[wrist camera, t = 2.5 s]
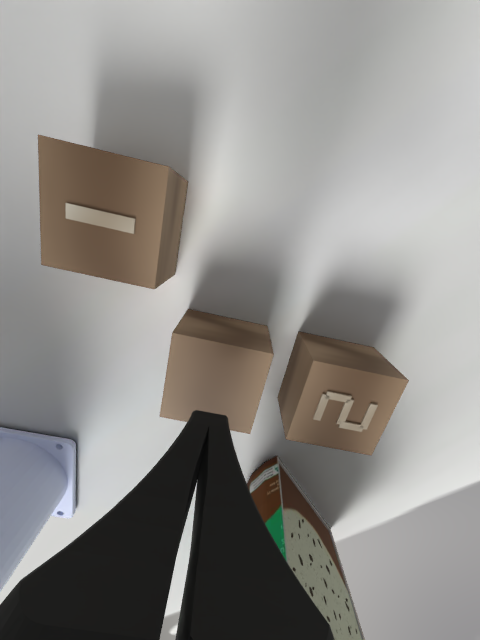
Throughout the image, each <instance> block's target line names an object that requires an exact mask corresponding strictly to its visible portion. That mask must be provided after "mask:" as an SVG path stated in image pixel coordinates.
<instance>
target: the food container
mask: <svg viewBox="0 0 480 640" xmlns="http://www.w3.org/2000/svg"><path fill="white" fill-rule="evenodd" d="M247 486H248V489H249V491H250V493H251V496H252V498H253V500H254V502H255V504H256V506H257V509H258V511H259V513H260V515H261V517H262V519H263V521H264V523H265V525H266V527H267V528H268V530H269V532H270V534H271V535H272V537H273V539H274V541H275V542H276V544H277V546H278V548H279V549H280V551H281V553H282V555H283V556H284V558H285V560H286V561H287V563H288V565H289V566H290V568H291V569H292V571H293V572H294V574H295V575H296V577H297V579H298V580H299V582H300V583H301V585H302V586H303V588H304V589H305V591H306V592H307V594H308V595H309V596H310V598H311V599H312V601H313V602H314V604H315V605H316V607H317V608H318V609H319V611H320V612H321V614H322V615H323V616H324V618H325V619H326V620H327V622H328V623H329V625H330V627H331V630H332V633H333V636H334V639H335V640H365V639H364V636H363V632H362V629H361V626H360V623H359V619H358V616H357V613H356V610H355V607H354V603H353V600H352V597H351V594H350V591H349V587H348V584H347V581H346V578H345V574H344V571H343V568H342V565H341V562H340V559H339V555H338V552H337V549H336V545H335V542H334V539H333V536H332V532H331V529H330V528H329V526H328V525H327V524H326V522H325V521H324V519H323V518H322V517H321V515H320V514H319V513H318V511H317V510H316V508H315V507H314V506H313V504H312V503H311V502H310V500H309V499H308V497H307V496H306V495H305V493H304V492H303V491H302V489H301V488H300V486H299V485H298V484H297V482H296V481H295V480H294V478H293V477H292V476H291V474H290V473H289V471H288V470H287V469H286V467H285V466H284V465H283V463H282V462H281V460H280V459H279V458H278V456H275V457H273V458H272V459H270V460H268V461H266V462H264V463H263V464H262V465H261V466H260V467H259V468H258V469H257V470H256V471H255V472H254V473H253V474H252V475H251V477H250V479H249V481H248V483H247Z"/></svg>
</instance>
